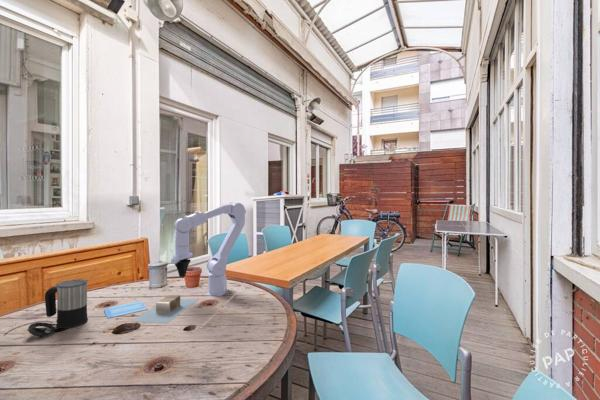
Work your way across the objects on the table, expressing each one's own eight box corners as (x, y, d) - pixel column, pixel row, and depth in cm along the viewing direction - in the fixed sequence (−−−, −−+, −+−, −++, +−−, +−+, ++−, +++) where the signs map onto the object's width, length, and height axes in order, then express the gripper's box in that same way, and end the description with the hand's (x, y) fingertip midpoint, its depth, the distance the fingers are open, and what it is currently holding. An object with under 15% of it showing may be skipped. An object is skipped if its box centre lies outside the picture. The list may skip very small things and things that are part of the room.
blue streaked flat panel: (140, 303, 128) (140, 300, 128) (147, 312, 119) (147, 308, 119) (103, 311, 119) (103, 308, 119) (107, 321, 110) (107, 317, 110)
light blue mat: (168, 299, 132) (168, 298, 132) (198, 300, 130) (198, 299, 130) (131, 322, 108) (131, 321, 108) (167, 324, 106) (167, 323, 106)
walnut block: (169, 295, 124) (155, 302, 115) (180, 295, 123) (167, 303, 114) (169, 304, 124) (155, 313, 115) (180, 305, 123) (167, 313, 115)
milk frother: (92, 316, 113) (92, 278, 113) (74, 335, 98) (73, 290, 98) (47, 321, 109) (47, 281, 109) (21, 341, 94) (20, 295, 94)
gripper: (182, 243, 138) (182, 272, 138) (164, 248, 124) (164, 280, 124) (196, 243, 137) (196, 272, 137) (180, 248, 123) (180, 281, 123)
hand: (182, 276), depth 131 cm, fingers closed
